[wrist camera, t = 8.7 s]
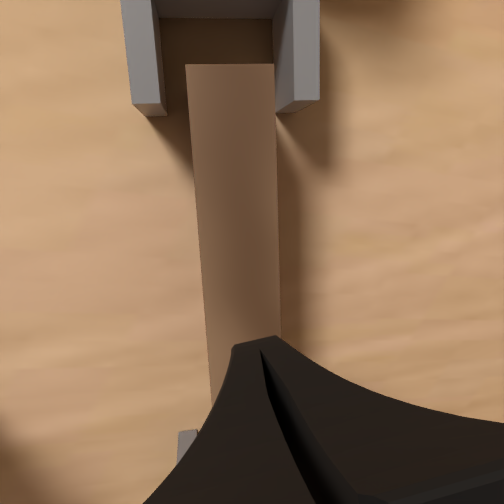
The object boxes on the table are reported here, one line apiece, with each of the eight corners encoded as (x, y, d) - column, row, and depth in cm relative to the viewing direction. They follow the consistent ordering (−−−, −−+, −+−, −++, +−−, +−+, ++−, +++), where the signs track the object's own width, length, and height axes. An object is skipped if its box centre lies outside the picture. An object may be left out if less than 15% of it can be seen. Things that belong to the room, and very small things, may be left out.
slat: (209, 364, 20) (213, 427, 15) (188, 93, 17) (185, 64, 12) (262, 358, 21) (283, 417, 16) (252, 92, 17) (274, 63, 12)
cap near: (145, 116, 17) (132, 103, 13) (131, -15, 15) (112, -67, 12) (294, 112, 18) (319, 99, 14) (293, -12, 16) (319, -59, 13)
